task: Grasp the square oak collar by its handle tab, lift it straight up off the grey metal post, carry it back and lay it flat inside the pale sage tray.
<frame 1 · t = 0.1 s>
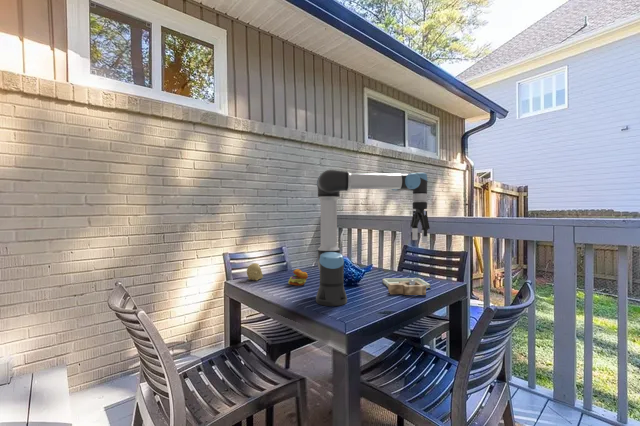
hand: (419, 241, 175), 28 cm above the table, fingers open, 13 cm apart
collar: (411, 293, 175), on the table
pale yellow lumpy ball: (255, 280, 205), on the table
tray: (405, 285, 191), on the table
cheeseburger: (298, 284, 194), on the table
post: (411, 292, 175), on the table
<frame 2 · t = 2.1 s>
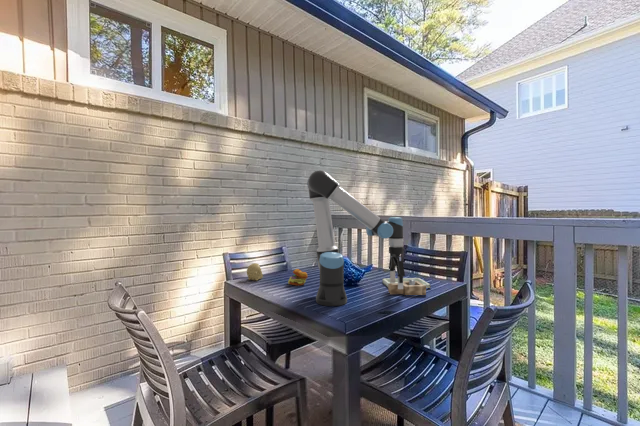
hand: (396, 285, 174), 4 cm above the table, fingers open, 13 cm apart
nothing on the table moved.
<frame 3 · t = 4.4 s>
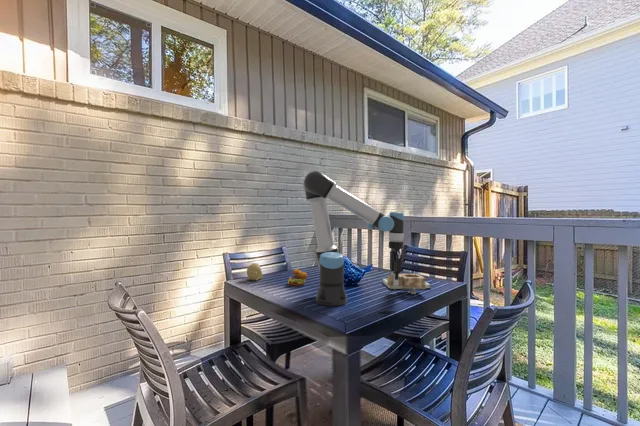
hand: (394, 284, 174), 5 cm above the table, fingers closed on collar, 3 cm apart
collar: (411, 285, 175), point 4 cm above the table, touching gripper
everything else where it was.
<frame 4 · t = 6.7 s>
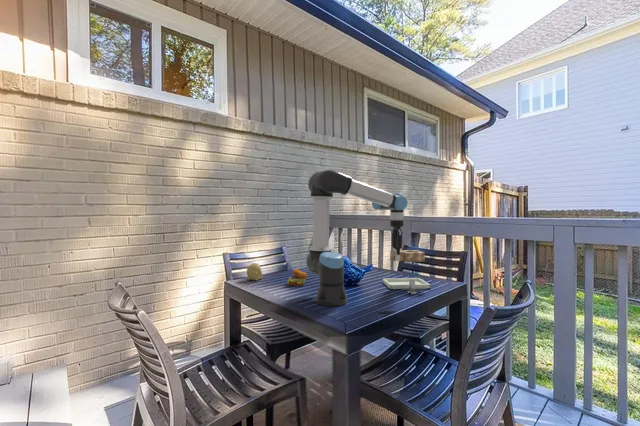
hand: (396, 259, 190), 15 cm above the table, fingers closed on collar, 3 cm apart
collar: (411, 259, 191), point 15 cm above the table, touching gripper
everything else where it was.
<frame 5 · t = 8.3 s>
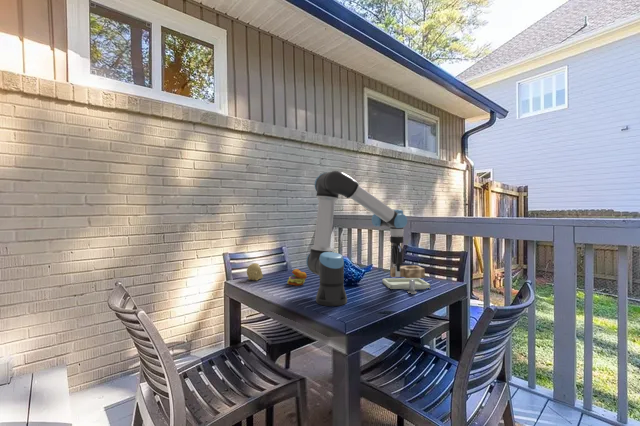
hand: (396, 275, 190), 6 cm above the table, fingers closed on collar, 3 cm apart
collar: (411, 275, 191), point 6 cm above the table, touching gripper
everything else where it was.
when the fingers open (1 cm above the table, at t = 9.4 s): collar stays where it is, resting on tray.
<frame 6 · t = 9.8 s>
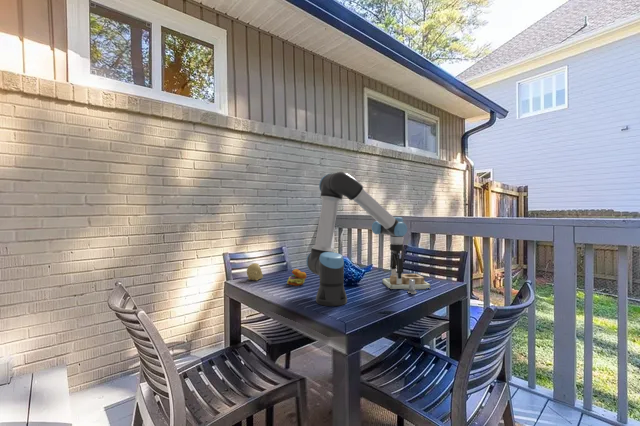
hand: (396, 281, 190), 2 cm above the table, fingers open, 9 cm apart
collar: (411, 284, 191), point 1 cm above the table, touching tray
everything else where it was.
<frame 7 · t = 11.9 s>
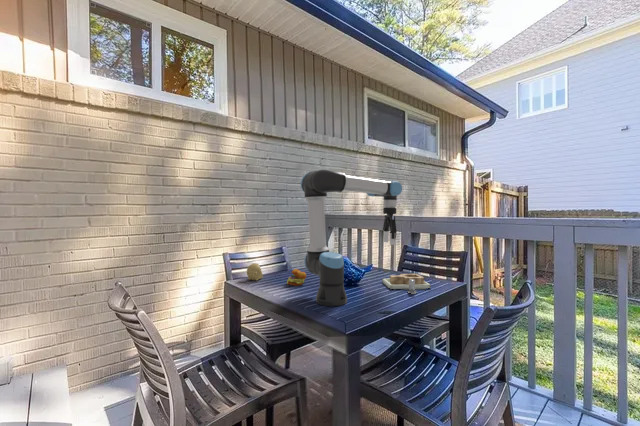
hand: (389, 243, 191), 25 cm above the table, fingers open, 13 cm apart
nothing on the table moved.
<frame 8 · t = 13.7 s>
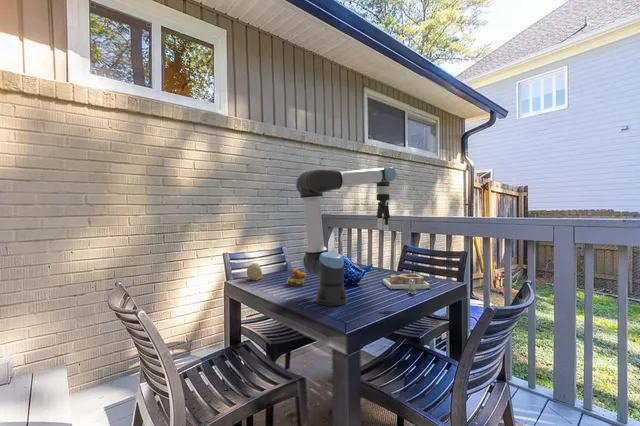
hand: (382, 229, 192), 33 cm above the table, fingers open, 13 cm apart
nothing on the table moved.
at the end: collar inside the target area on the tray (0.4 cm from its centre), point 0.8 cm above the tray's base; collar tilted 0°; the gripper is holding nothing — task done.
